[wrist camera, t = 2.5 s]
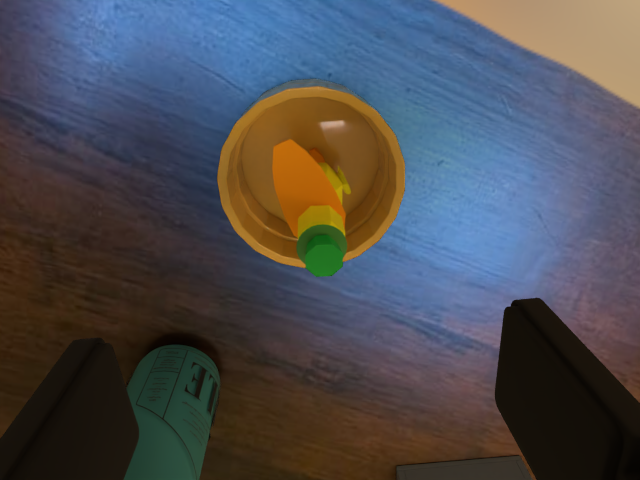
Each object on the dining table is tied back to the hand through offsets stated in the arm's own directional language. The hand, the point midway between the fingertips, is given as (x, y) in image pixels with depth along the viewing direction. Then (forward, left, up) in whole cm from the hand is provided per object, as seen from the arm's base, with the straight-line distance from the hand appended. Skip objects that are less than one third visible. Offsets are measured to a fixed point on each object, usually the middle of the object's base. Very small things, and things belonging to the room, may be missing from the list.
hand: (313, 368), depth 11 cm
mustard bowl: (0, 0, -20) cm, 20 cm away
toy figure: (0, 0, -19) cm, 19 cm away
